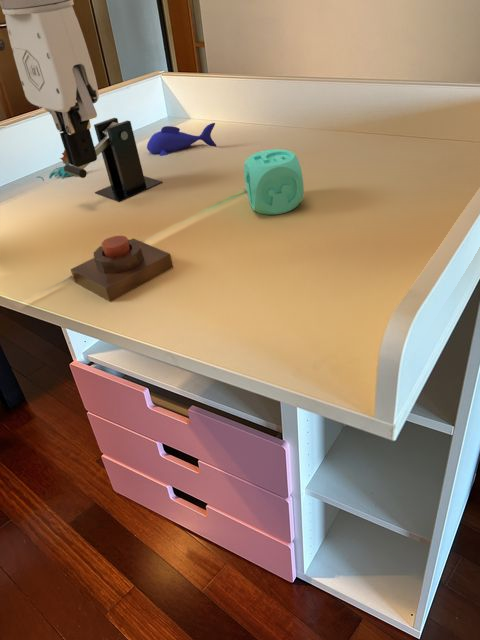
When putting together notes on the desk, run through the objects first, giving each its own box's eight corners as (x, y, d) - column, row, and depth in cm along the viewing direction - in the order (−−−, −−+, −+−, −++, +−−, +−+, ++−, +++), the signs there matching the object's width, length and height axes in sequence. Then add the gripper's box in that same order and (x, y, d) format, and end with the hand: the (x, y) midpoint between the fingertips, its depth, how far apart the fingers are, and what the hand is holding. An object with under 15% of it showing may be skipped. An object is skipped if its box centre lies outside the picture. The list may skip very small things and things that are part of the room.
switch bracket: (120, 207, 101) (100, 134, 93) (96, 198, 105) (75, 128, 97) (164, 187, 106) (148, 117, 98) (139, 179, 111) (122, 112, 103)
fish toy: (151, 169, 119) (143, 141, 113) (148, 146, 123) (140, 119, 117) (221, 157, 120) (217, 129, 114) (215, 135, 124) (211, 107, 118)
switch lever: (84, 182, 95) (75, 170, 93) (69, 176, 98) (60, 165, 96) (131, 135, 99) (124, 124, 97) (115, 132, 102) (108, 120, 100)
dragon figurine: (46, 188, 109) (77, 161, 110) (26, 167, 112) (57, 141, 113) (62, 206, 115) (92, 181, 116) (44, 186, 118) (73, 162, 119)
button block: (110, 302, 75) (101, 276, 73) (75, 282, 81) (66, 258, 78) (173, 267, 81) (167, 242, 79) (136, 251, 86) (130, 227, 84)
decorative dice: (247, 200, 97) (241, 154, 92) (292, 191, 98) (288, 145, 93) (257, 219, 91) (251, 170, 86) (305, 209, 92) (302, 160, 87)
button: (114, 261, 77) (110, 250, 76) (100, 254, 79) (96, 243, 78) (135, 250, 78) (132, 239, 77) (121, 244, 81) (117, 233, 80)
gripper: (-28, -2, 63) (29, 161, 74) (36, 0, 54) (90, 184, 65) (33, -12, 67) (78, 144, 78) (102, -12, 58) (142, 164, 69)
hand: (83, 162), depth 72 cm, fingers closed
